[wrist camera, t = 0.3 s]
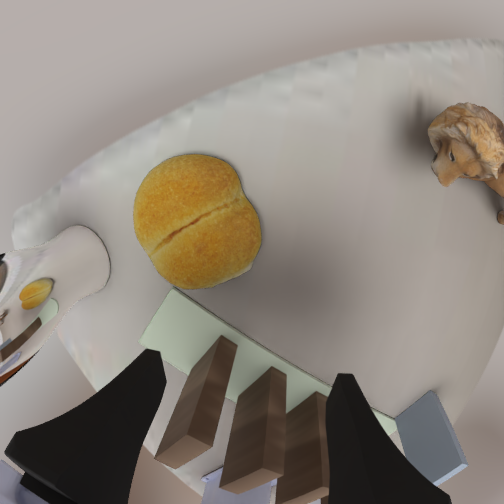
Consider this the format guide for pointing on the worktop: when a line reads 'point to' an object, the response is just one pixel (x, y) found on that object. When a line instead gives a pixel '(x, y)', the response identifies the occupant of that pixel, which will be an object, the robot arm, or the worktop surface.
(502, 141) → the lion figurine
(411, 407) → the domino
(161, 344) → the mat
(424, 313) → the worktop surface
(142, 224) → the bread roll
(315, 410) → the domino
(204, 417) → the domino
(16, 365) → the beer glass
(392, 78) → the worktop surface
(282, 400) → the domino
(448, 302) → the worktop surface
